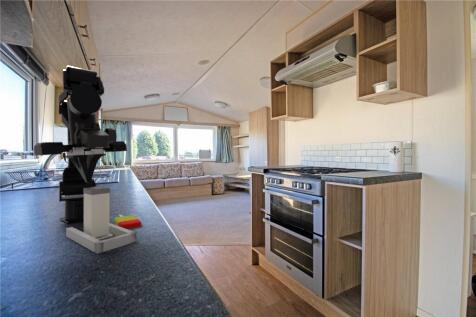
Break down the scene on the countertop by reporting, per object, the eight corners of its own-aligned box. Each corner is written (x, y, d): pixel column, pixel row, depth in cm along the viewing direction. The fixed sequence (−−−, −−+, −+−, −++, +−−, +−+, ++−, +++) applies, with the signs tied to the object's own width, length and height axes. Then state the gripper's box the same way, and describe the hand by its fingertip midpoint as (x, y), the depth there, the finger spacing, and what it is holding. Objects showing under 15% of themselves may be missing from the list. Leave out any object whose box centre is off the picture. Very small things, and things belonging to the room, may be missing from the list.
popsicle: (120, 232, 61) (120, 225, 61) (110, 219, 73) (110, 213, 73) (142, 228, 65) (142, 221, 65) (129, 216, 76) (129, 210, 76)
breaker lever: (83, 235, 55) (83, 188, 55) (101, 230, 59) (101, 186, 59) (91, 238, 53) (91, 189, 53) (109, 234, 56) (109, 187, 56)
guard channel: (66, 236, 56) (66, 228, 56) (103, 227, 63) (103, 220, 63) (97, 253, 47) (97, 243, 47) (136, 241, 54) (136, 232, 53)
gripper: (47, 112, 46) (54, 191, 46) (136, 118, 61) (140, 178, 62) (30, 118, 52) (36, 188, 53) (114, 123, 67) (118, 176, 68)
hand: (88, 182), depth 59 cm, fingers closed
